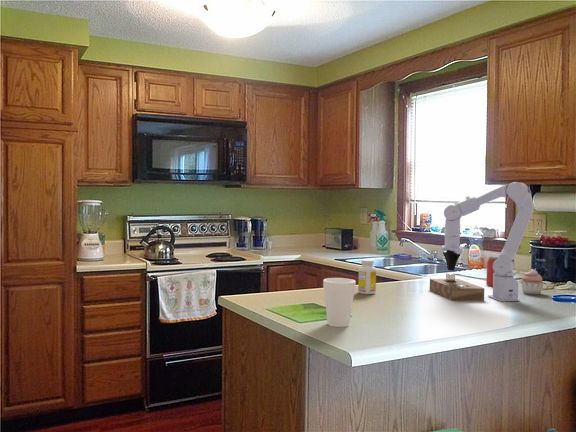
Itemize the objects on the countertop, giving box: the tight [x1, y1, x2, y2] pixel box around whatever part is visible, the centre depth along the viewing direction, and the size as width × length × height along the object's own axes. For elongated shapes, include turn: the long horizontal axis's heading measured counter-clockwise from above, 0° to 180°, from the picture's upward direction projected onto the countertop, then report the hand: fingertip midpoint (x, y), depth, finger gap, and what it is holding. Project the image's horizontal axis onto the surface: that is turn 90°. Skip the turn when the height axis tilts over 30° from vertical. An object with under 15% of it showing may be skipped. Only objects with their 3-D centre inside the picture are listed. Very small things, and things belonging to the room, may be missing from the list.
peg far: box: [445, 272, 456, 282], centre depth 221 cm, size 4×4×4 cm
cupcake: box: [519, 268, 545, 296], centre depth 223 cm, size 9×9×10 cm
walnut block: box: [429, 278, 485, 302], centre depth 216 cm, size 22×12×4 cm, turn 8°
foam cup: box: [322, 277, 357, 328], centre depth 164 cm, size 10×9×13 cm
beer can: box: [485, 256, 498, 288], centre depth 240 cm, size 7×7×12 cm
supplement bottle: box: [357, 259, 377, 295], centre depth 216 cm, size 7×7×13 cm
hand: (451, 270), depth 220 cm, fingers closed
